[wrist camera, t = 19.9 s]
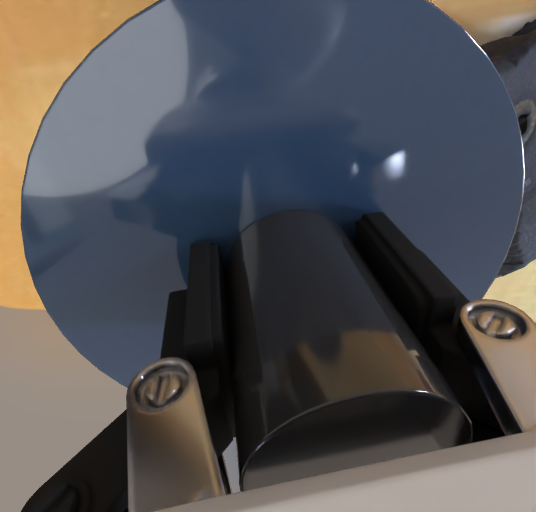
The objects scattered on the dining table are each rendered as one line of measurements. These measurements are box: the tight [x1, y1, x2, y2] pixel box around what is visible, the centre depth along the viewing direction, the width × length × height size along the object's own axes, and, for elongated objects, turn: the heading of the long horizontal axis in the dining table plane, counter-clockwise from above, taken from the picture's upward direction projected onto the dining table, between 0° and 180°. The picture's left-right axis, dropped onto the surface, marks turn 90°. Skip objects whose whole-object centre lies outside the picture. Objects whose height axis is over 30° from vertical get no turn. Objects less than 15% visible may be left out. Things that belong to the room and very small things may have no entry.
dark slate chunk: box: [480, 20, 536, 278], centre depth 31 cm, size 15×22×5 cm
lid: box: [21, 0, 525, 492], centre depth 9 cm, size 15×15×7 cm
